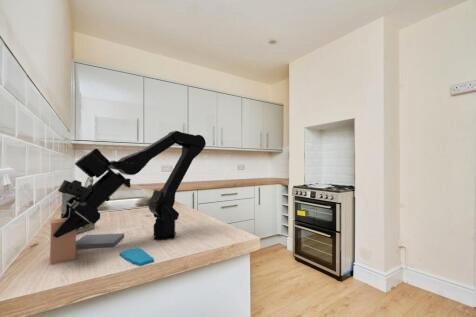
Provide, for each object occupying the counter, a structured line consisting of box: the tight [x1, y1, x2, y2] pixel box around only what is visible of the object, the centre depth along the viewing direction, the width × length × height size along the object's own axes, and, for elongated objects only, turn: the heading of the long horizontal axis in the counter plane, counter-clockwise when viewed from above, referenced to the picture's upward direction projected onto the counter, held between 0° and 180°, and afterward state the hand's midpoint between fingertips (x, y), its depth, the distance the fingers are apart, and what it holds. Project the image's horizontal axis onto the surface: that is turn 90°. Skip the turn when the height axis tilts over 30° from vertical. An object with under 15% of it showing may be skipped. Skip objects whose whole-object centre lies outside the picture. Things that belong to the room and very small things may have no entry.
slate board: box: [76, 232, 125, 250], centre depth 73 cm, size 12×10×1 cm
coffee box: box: [60, 193, 96, 235], centre depth 86 cm, size 9×6×16 cm
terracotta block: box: [49, 218, 77, 265], centre depth 60 cm, size 5×5×10 cm
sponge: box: [118, 247, 155, 267], centre depth 61 cm, size 2×12×6 cm
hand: (54, 234), depth 59 cm, fingers closed on terracotta block, 5 cm apart
